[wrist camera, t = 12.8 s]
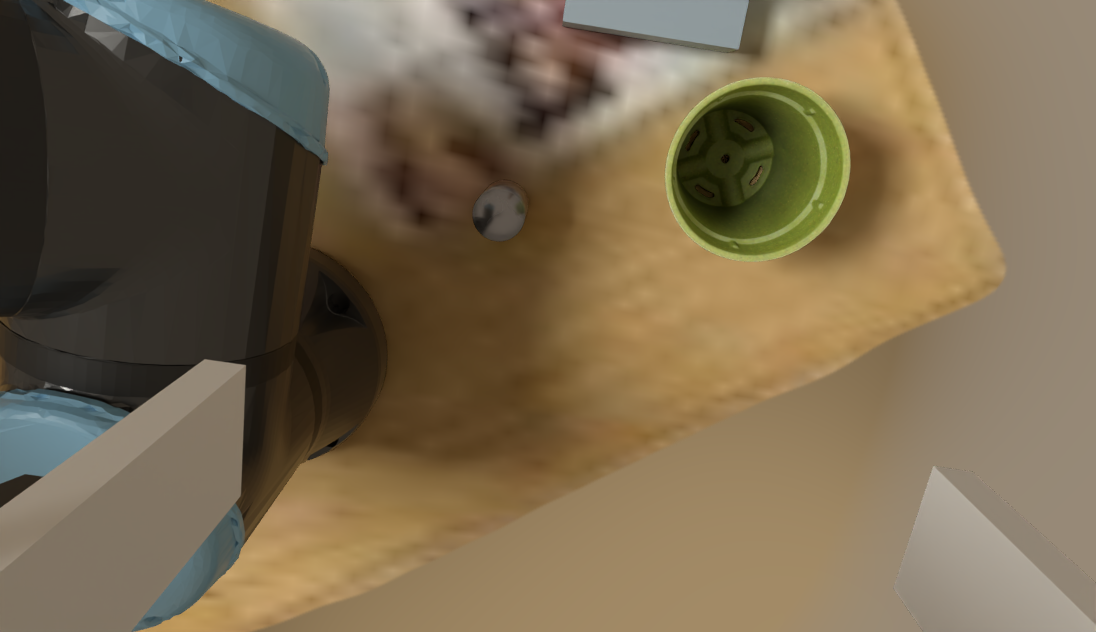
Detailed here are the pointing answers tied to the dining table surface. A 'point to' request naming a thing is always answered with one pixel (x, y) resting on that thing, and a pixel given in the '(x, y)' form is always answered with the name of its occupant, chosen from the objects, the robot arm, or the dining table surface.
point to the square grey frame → (663, 20)
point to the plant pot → (775, 144)
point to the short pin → (500, 210)
